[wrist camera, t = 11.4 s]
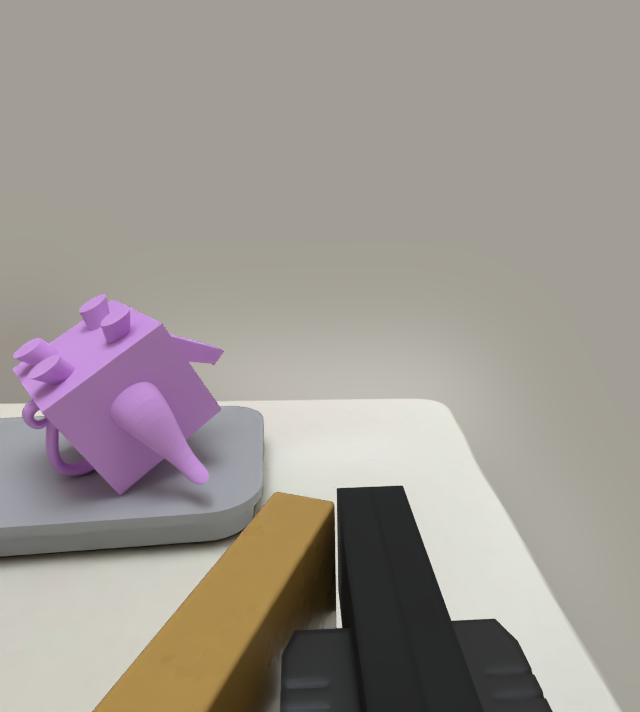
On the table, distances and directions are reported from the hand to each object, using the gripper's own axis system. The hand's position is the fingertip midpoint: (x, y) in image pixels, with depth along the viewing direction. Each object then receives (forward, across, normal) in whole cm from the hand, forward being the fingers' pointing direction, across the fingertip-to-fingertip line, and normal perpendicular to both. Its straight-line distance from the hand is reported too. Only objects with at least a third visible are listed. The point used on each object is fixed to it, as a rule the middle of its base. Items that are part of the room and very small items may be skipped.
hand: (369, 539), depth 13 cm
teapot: (+22, +15, 0) cm, 27 cm away
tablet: (+24, +17, +12) cm, 32 cm away
